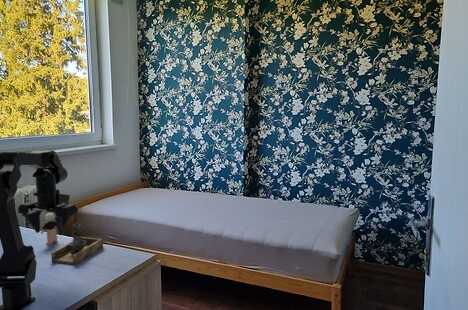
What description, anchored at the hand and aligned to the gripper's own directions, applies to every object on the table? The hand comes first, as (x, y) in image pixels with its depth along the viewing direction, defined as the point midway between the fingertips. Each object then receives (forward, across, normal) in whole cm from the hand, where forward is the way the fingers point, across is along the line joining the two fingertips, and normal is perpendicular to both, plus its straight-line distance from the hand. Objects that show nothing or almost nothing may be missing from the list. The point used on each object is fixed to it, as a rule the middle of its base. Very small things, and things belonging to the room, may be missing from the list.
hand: (49, 233), depth 118 cm
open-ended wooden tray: (+13, 0, -14) cm, 19 cm away
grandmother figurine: (+13, +18, -20) cm, 30 cm away
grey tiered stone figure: (+12, 0, -13) cm, 18 cm away
